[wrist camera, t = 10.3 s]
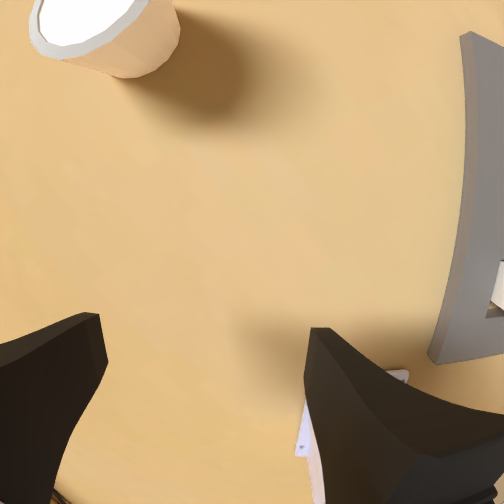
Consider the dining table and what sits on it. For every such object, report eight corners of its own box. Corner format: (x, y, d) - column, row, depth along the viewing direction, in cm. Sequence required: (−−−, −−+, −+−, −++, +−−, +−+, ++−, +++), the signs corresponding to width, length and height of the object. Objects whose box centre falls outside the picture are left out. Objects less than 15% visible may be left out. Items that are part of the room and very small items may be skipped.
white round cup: (165, -21, 14) (131, -80, 7) (210, 50, 16) (186, -5, 9) (77, 34, 15) (17, 0, 8) (111, 109, 17) (46, 90, 10)
